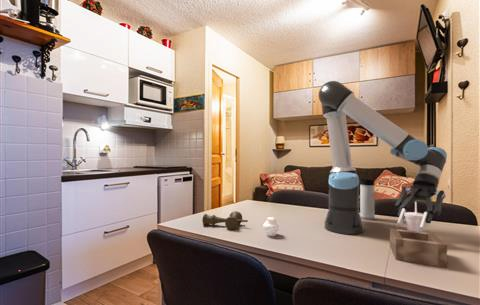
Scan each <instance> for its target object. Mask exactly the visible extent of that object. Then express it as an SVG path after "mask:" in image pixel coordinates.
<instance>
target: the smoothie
mask: <svg viewBox="0 0 480 305" xmlns="http://www.w3.org/2000/svg"><path fill="white" fill-rule="evenodd" d="M423 215H424V213H421V212H418V202H417V201H414V211H413V212H412V211H406V212H404V216H405V220H404V221H405V226H406V230H408V231H417V232H422V231H421V229H420V224H421V221H422V218H423Z"/></svg>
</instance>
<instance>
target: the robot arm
mask: <svg viewBox="0 0 480 305" xmlns="http://www.w3.org/2000/svg"><path fill="white" fill-rule="evenodd" d="M318 99H319V102H320V105H321V111H322V117H323V118H325V119H326V124H327V125H326V126H327V131H328V132H327V134H328V140H329V147H330V148H329V149H330V157H331V164H332V167H331V170H329V175H328V211H327V213H326V216H325V219H324V225H323V226H324V228H325V229H326V231H329V232H332V233H336V234H342V235H343V234H344V235H359V234H363V233H364V232H365V231H364V228H365V227H364V223H363V221H362V220H363V219H362V218H361V217H360V215H361V214H360V210H359V208H360V193H359V192H360V178H359V175H358V174H357V169H356V168H355V167H354V166H353V163H352V162H353V161H352V155H351V148H350V147H351V146H350V140H349V133H348V124H347V116H348V117H349V118H350V119H352V120H353V121H354V122H356V123H358V124H359V125H360V126H362V127H363V128H364V129H366V130H367V131H368V132H370V133H372V134H373V135H374V136H375V137H376V138H379V139H380V140H381V141H383V142H384V143H385V144H386V145H388V146H389V147H390V148H391V149H390V152H389V153H390V154H391V155H393V156H395V157H396V158H399V159H400V160H401V159H402V160H404V161H406V162H409V163H411V164H414V165H417V166H418V170H417V172H416V175H415V178H414V180H413V183H412V186H410V187H405V186H403V187H402V188H401V192H400V195H399V197H398V198H397V201H396V202H395V204H394V206H395V208H396V210H397V211H398V212H397V218H398V219H397V225H398V227H400V228H403V225H404V223H405V221H406V220H405V216H404V212H407V210H408V209H409V208H410V207H411V205H413V203H415V202H417V200H418V199H423V200H425V203H426V211H424V212H423V214H424V215H423V218H422V221H421V224H420V229H421V231H422V232H425V231H426V228H427V225H428V224H431V223H432V219H433V217H435V216H436V217H440V216H441V212H442V207H443V201H444V199H445V198H446V193H445V191H444V190H437V189H438V186H439V183H440V180H441V178H442V177H441V176H442V173H443V170H444V168H445V166H446V163H447V156H448V154H447V152H446V151H445V149H443V148H441V147H439V146H438V147H436V146H431V147H429V146H428V145H427V143H426V142H425V141H423V140H421V139H417V138H415V137H414V136H413V135H411V134H410V133H408V132H407V131H405V130H404V129H402V128H401V127H399V126H398V125H397V124H395V123H394V122H392V121H391V120H390V119H388V118H387V117H385V116H384V115H382V114H380V113H379V112H378V111H377V110H375V109H373V108H372V107H370V106H369V105H368V104H366V103H365V102H364V101H362V100H361V99H359V98H358V97H356V96H355V93H354V91H352V90H351V89H350V88H348V87H347V86H345V85H344V84H343V83H341V82H339V81H337V80H331V81H327V82H325V83H323V85H322V86H321V87H320V89H319V92H318ZM409 194H410V195H409ZM408 195H409V196H408ZM433 196H436V198H435V199H436V200H435V204H434V209H433V205H432V197H433Z"/></svg>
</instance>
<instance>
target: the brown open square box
mask: <svg viewBox="0 0 480 305" xmlns="http://www.w3.org/2000/svg"><path fill="white" fill-rule="evenodd" d="M389 247H390V249H391V252H392V254H393V257H394V259H395V261H403V262H410V263H416V264H423V265H429V266H436V267H442V268H448V245H447V244H446V243H445V242H444V241H443V240H442V239H441V238H440V237H439V236H437V234H435V233H434V232H427V231H426V232H417V231H408V230H407V229H398V228H397V229H396V228H389Z"/></svg>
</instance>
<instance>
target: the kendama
mask: <svg viewBox="0 0 480 305" xmlns="http://www.w3.org/2000/svg"><path fill="white" fill-rule="evenodd" d="M201 220H202V221H201V222H202V225H203V226H204V227H205V226H207V225H212V226H214V225H216V224H221V223H224V225H225V226H224V227H225V228H226V229H227V230H229V231H234V230H236V229H237V228H238V226H239V225H240V224H241V223H247V222H249V220H248V219H243V215H242V213H241V212H239V211H232V212H231V213H230V214H229V216H228V217H226V218H224V217H220V216H219V217H218V216H216V215H215V214H213V215H209V214H207V213H204V214H203V216H202V219H201Z"/></svg>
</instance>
